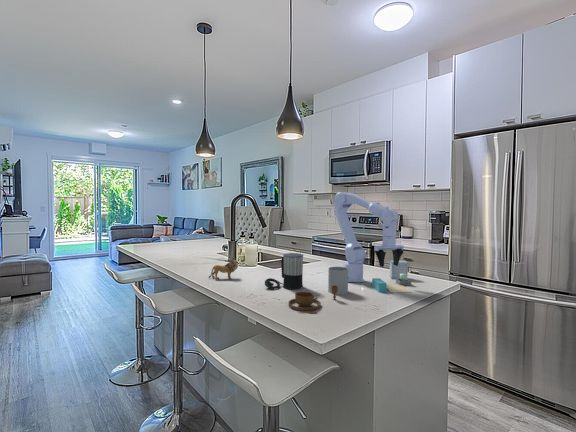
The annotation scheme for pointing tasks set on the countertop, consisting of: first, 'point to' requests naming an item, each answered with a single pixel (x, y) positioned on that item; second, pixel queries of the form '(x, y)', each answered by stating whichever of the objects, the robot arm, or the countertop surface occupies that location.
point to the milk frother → (289, 272)
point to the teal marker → (379, 285)
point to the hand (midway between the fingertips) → (388, 265)
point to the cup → (338, 279)
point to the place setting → (308, 301)
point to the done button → (403, 277)
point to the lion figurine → (225, 269)
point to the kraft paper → (397, 288)
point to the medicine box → (398, 269)
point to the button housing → (403, 282)
